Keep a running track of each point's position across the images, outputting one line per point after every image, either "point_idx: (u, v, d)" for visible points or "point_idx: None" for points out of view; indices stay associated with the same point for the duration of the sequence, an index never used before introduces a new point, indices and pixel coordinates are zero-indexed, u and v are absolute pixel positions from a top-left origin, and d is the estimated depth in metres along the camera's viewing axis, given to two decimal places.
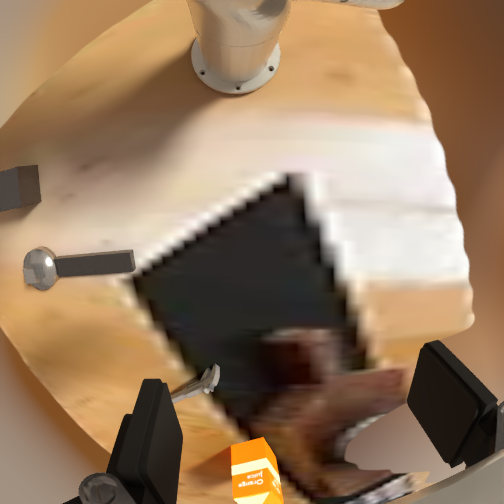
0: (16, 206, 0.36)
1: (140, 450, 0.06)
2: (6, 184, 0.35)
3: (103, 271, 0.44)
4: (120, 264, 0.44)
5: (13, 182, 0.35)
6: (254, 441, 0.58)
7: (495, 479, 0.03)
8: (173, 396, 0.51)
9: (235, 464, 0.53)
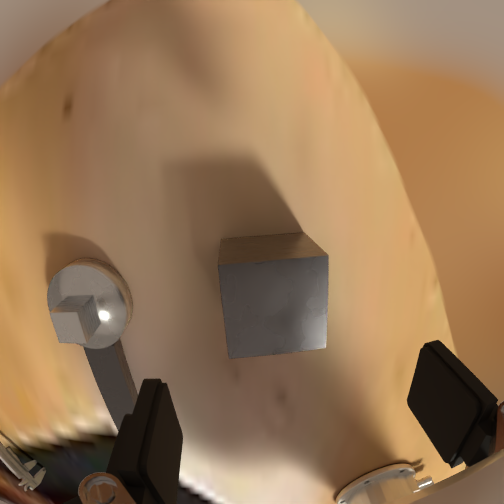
0: (231, 344, 0.18)
1: (140, 450, 0.06)
2: (291, 315, 0.18)
3: (116, 421, 0.25)
4: None
5: (292, 338, 0.18)
6: None
7: (495, 479, 0.03)
8: None
9: None
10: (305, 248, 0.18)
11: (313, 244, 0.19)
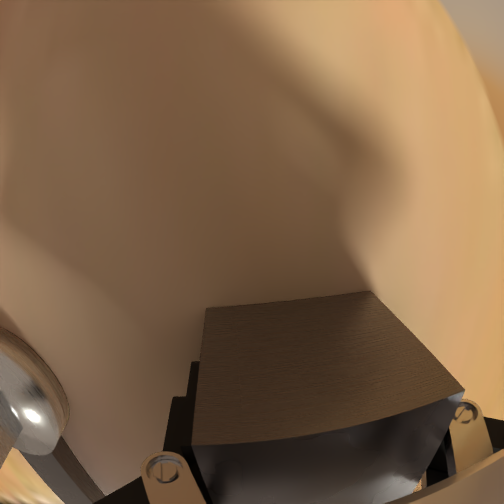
0: None
1: None
2: (360, 493, 0.06)
3: None
4: None
5: None
6: None
7: (495, 479, 0.03)
8: None
9: None
10: (403, 361, 0.07)
11: (411, 339, 0.08)
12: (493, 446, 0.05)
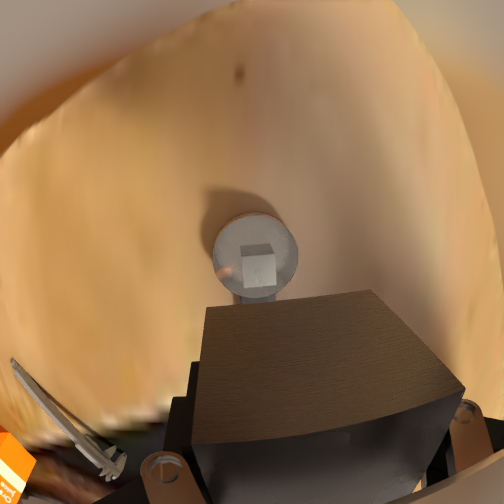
0: None
1: None
2: (360, 492, 0.06)
3: None
4: None
5: None
6: (28, 455, 0.35)
7: (495, 479, 0.03)
8: (63, 420, 0.30)
9: (0, 457, 0.28)
10: (403, 360, 0.07)
11: (411, 338, 0.08)
12: (493, 446, 0.05)
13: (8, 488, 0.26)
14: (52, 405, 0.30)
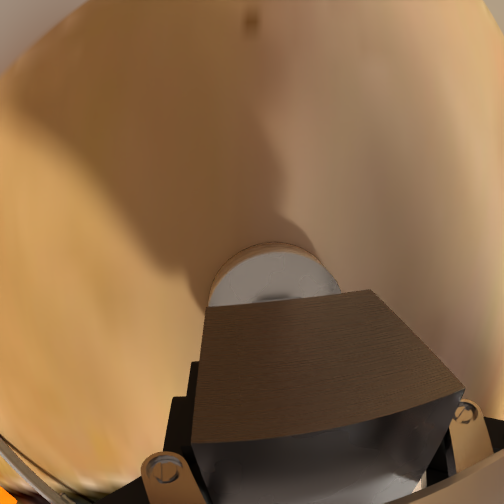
0: None
1: None
2: (360, 491, 0.06)
3: None
4: None
5: None
6: (7, 495, 0.24)
7: (495, 479, 0.03)
8: (34, 479, 0.20)
9: None
10: (403, 359, 0.07)
11: (411, 338, 0.08)
12: (493, 446, 0.05)
13: None
14: (20, 462, 0.20)
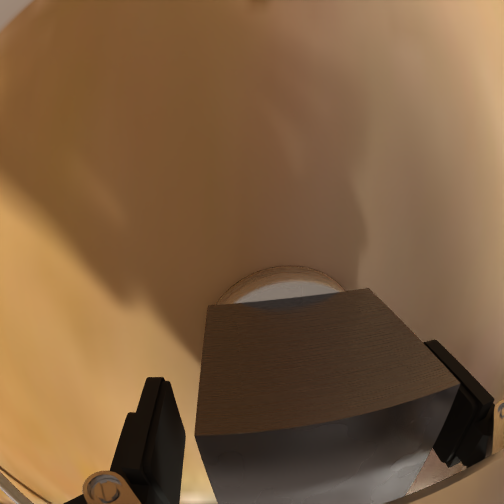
0: None
1: (144, 448, 0.06)
2: (359, 485, 0.06)
3: None
4: None
5: None
6: None
7: (495, 479, 0.03)
8: (24, 502, 0.16)
9: None
10: (400, 355, 0.07)
11: (408, 335, 0.08)
12: None
13: None
14: (9, 484, 0.16)
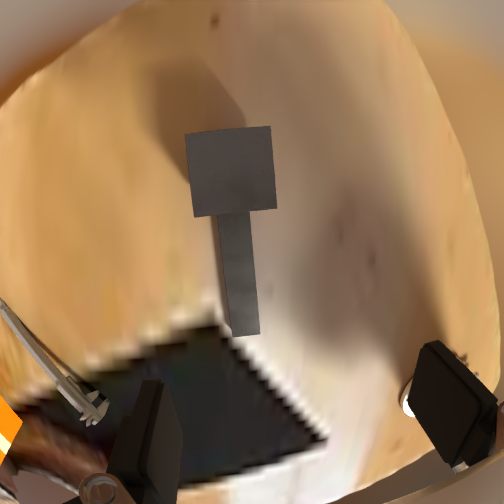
0: (195, 203, 0.22)
1: (139, 450, 0.06)
2: (244, 175, 0.22)
3: (230, 295, 0.31)
4: (242, 321, 0.32)
5: (246, 197, 0.22)
6: (14, 415, 0.36)
7: (495, 479, 0.03)
8: (45, 360, 0.31)
9: None
10: None
11: None
12: None
13: None
14: (36, 345, 0.32)
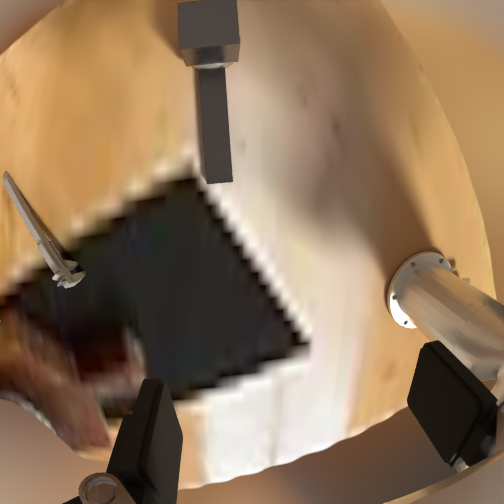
0: (181, 41, 0.25)
1: (140, 450, 0.06)
2: (216, 24, 0.25)
3: (206, 141, 0.34)
4: (216, 167, 0.35)
5: (217, 37, 0.25)
6: None
7: (495, 479, 0.03)
8: (34, 222, 0.35)
9: None
10: None
11: None
12: None
13: None
14: (28, 210, 0.35)
